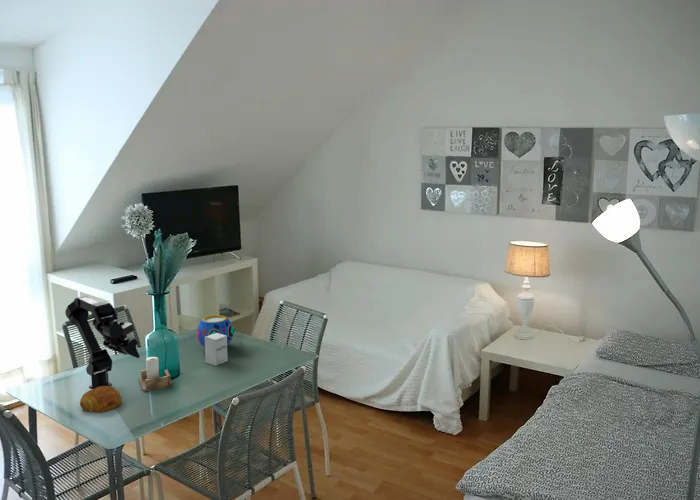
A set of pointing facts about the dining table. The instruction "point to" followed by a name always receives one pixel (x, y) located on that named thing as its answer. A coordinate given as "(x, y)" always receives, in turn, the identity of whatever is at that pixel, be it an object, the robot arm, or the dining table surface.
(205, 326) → the ceramic pot
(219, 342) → the supplement box
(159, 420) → the dining table surface
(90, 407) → the croissant
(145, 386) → the cradle
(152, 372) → the paper roll
